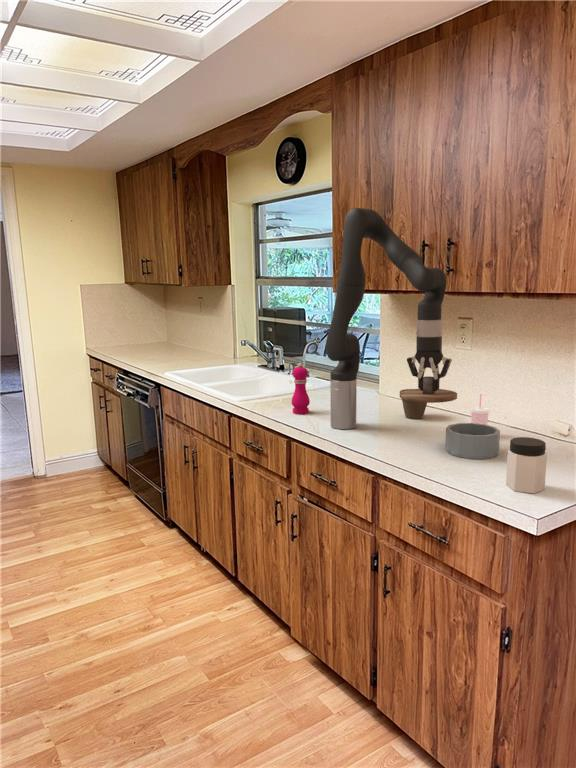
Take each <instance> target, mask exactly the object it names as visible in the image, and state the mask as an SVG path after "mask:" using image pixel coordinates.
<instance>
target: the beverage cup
mask: <svg viewBox="0 0 576 768" xmlns="http://www.w3.org/2000/svg"><path fill="white" fill-rule="evenodd" d="M478 404H479V406H473V407H470V414H471V415H470V416H471V422H470V423H476V424H485V425H488V420H489V413H490V409H489V408H488V407H482V393H480V394H479V403H478Z"/></svg>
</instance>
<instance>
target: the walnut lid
mask: <svg viewBox="0 0 576 768" xmlns="http://www.w3.org/2000/svg"><path fill="white" fill-rule="evenodd" d="M433 380H434V376H423V391H421V390H420V389H419V388H409V389H410V390H405V391H402V392H401V398H402V399H404V400H407V401H412V402H423V403H427V404H428V403H429V404H430V403H431V404H434V403H435V404H436V403H447V402H452V401H456V400H457V399H458V393H457V391H454V390H449V389H444V388H439V389H438V390H437V391H433ZM401 398H400V399H401ZM402 399H401V400H402Z"/></svg>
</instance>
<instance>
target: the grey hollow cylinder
mask: <svg viewBox="0 0 576 768" xmlns="http://www.w3.org/2000/svg"><path fill="white" fill-rule="evenodd" d="M500 436H501V430H500V429H498V427H496V426H492V425H488V424H487V425H485V424H476V423H471V422H458V423H453V424H448V426H446V427H445V440H444V441H445V442H444V443H445V444H444V445H445V446H444V447H445V451H446V452H448V453H447V454H449V455H451V456H453V457H456V458H459V459H465V458H466V459H467V460H468V459H469V460H488V459H494V458H496V457H497V456H499V451H500V438H501V437H500Z"/></svg>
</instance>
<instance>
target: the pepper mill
mask: <svg viewBox="0 0 576 768" xmlns="http://www.w3.org/2000/svg"><path fill="white" fill-rule="evenodd" d="M308 376H309V372H308V369H307V368H305V366H303V363H301V362H299V363H298V364H297V367H294V368H293V370H292V377H293V378H294V379H293V383H294V392H293V394H292V397H291V405H292V406H293V408H292V414H294V415H307V414H309V409H310V408H309V407H308V406H309V405H310V403H311V399H310V397H309V394H308V392H307V388H306V386H307V385H306V383H307V377H308Z"/></svg>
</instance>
